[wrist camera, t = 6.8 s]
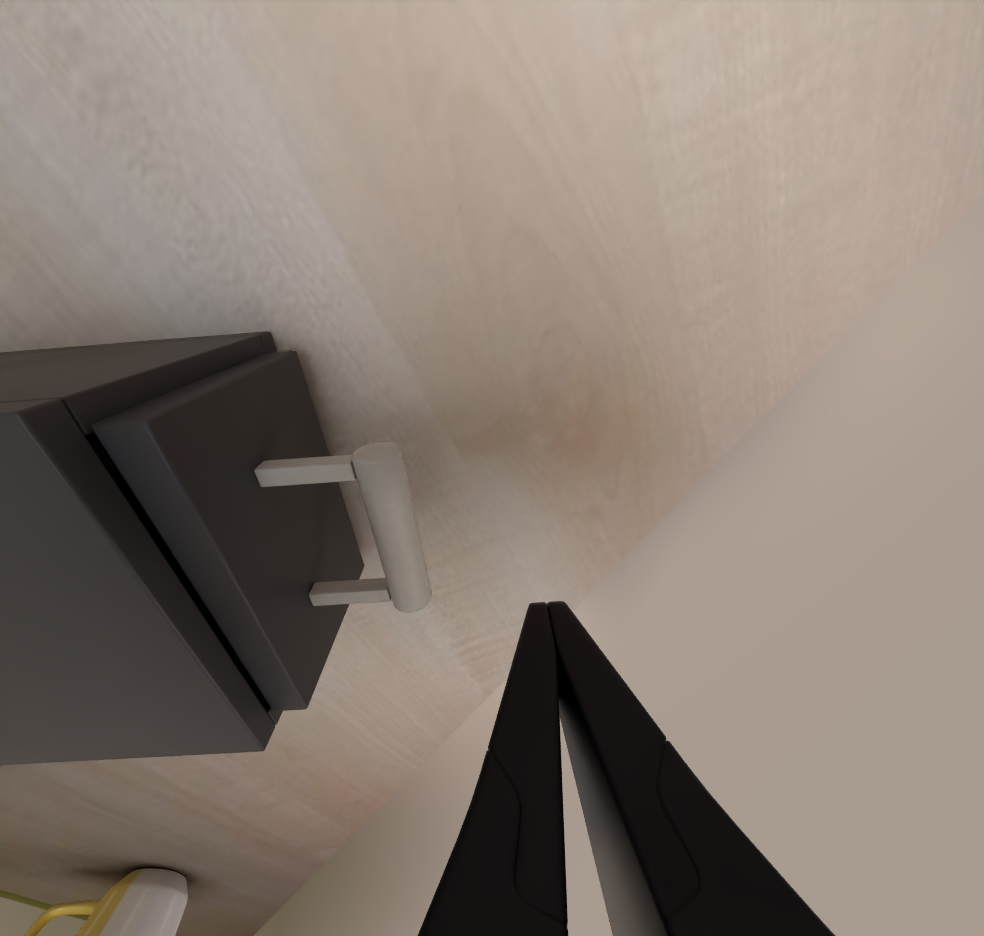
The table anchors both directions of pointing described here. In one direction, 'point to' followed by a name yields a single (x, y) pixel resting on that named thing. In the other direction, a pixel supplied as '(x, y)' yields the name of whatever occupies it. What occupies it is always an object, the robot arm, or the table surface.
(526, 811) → the robot arm
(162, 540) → the drawer
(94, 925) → the mug
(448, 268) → the table surface
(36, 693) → the black box
